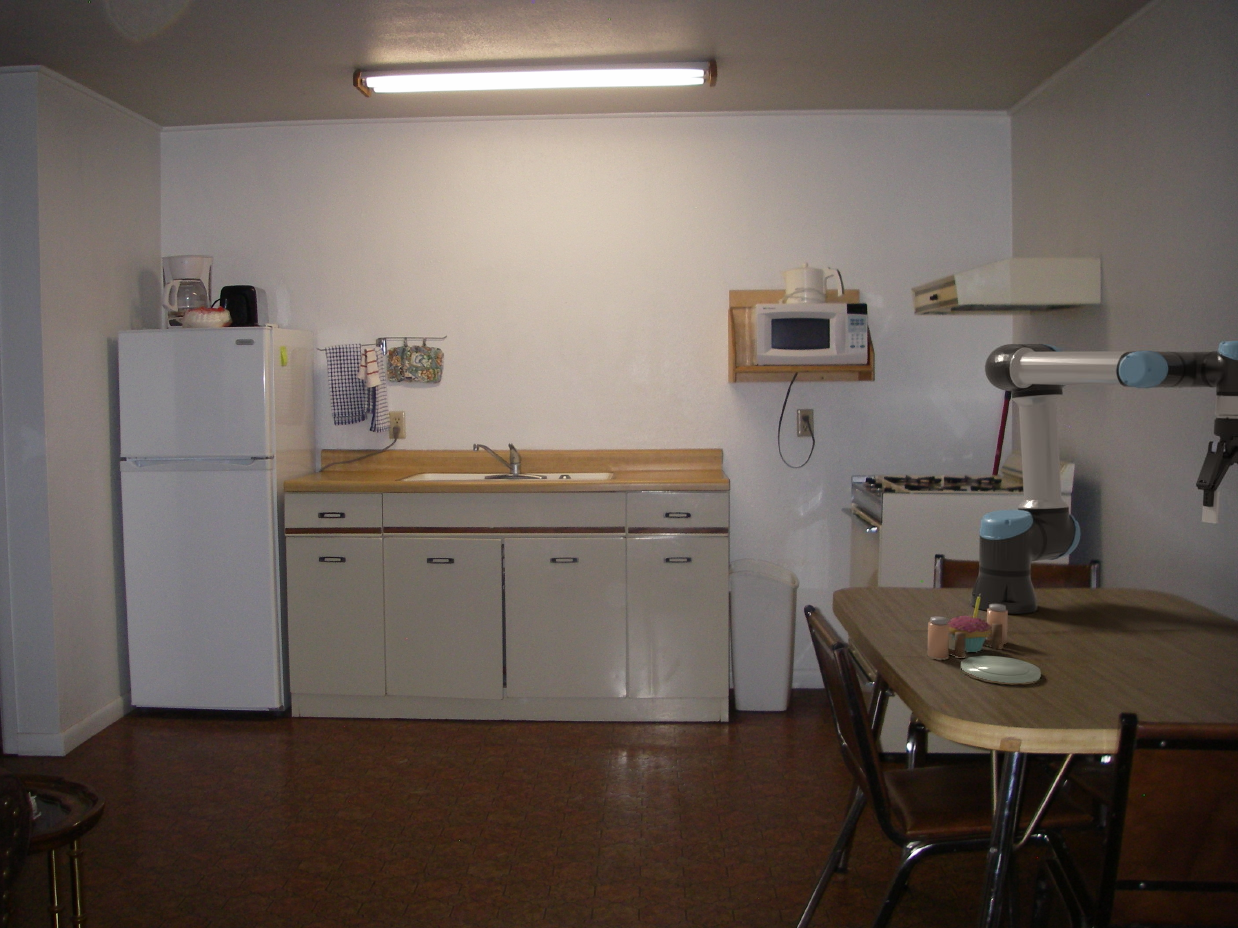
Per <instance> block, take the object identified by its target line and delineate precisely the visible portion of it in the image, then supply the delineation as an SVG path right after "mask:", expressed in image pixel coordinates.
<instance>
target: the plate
mask: <svg viewBox="0 0 1238 928" xmlns="http://www.w3.org/2000/svg"><path fill="white" fill-rule="evenodd" d="M961 668H962V670H964V671H965V672H967V673H969V674H972V675H974V676H976V677H979V678H983V679H987V680H991V681H998V682H1005V683H1026V682H1033V681H1037V680H1039V679H1040V677H1041V675H1042V673H1041V669H1040V667H1038V666H1037V665H1034V664H1032V663H1030V662H1028V661H1024V660H1021V659H1017V658H1011V657H1007V656H1006V657H1004V656H997V655H996V656H995V655H977V656H971V657H966V658H965V659H961V662H960V669H961ZM1040 680H1041V679H1040ZM1040 680H1039V681H1040Z"/></svg>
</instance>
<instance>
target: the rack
mask: <svg viewBox="0 0 1238 928" xmlns="http://www.w3.org/2000/svg"><path fill="white" fill-rule="evenodd" d="M1002 628H1003V625H1002V624H1000V623H993V624H992V641H990V640H987V639H986V638H985V640H984V643H983V645H982V646H985V645H988V646H991V647H993V648H996V649H995V650H1002V649H1001V648H1004V645H1003V644H1002ZM965 639H966V633H964V632H955V642H954V649H952V648H949V654H952V655H955V656H958V657H964V656H966V657H967V652H965ZM988 646H987V647H988ZM991 647H990V648H991ZM993 648H992V649H993Z"/></svg>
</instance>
